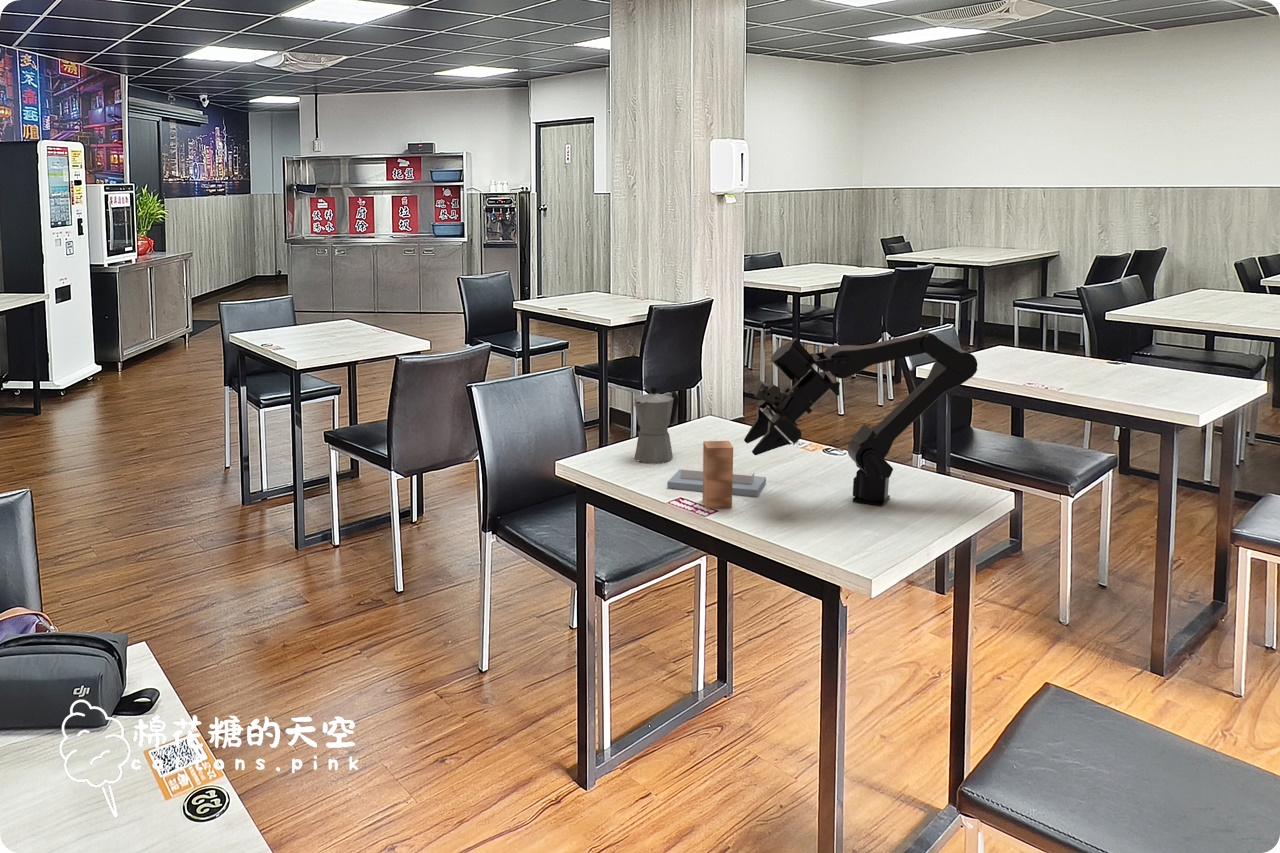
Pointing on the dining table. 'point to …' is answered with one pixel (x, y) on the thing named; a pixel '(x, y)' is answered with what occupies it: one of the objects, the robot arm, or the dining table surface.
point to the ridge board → (693, 481)
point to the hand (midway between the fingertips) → (749, 447)
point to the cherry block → (717, 474)
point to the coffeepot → (655, 425)
